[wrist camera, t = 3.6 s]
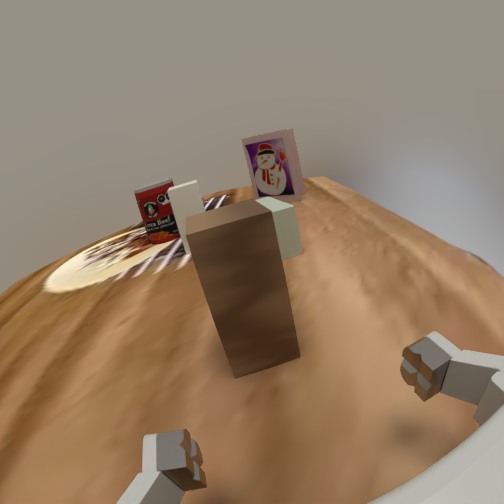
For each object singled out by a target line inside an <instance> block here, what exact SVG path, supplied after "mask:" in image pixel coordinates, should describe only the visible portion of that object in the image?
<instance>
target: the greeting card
mask: <svg viewBox="0 0 504 504" xmlns="http://www.w3.org/2000/svg"><path fill="white" fill-rule="evenodd" d="M242 143H243V148H244V152H245V156H246V160H247V164H248V168H249V173H250V177H251V181H252V186H253V190H254V195H255V199H256V200H257V199H261V198H264V197H271V198H274V199H277V200H280V201H282V202H292V201H301V198H300V195H301V194H306V192H305V187H304V182H303V177H302V172H301V167H300V162H299V158H298V152H297V147H296V143H295V138H294V133H293V129H289V130H281V131H275V132H271V133H266V134H262V135H258V136H253V137H249V138H245V139H242Z"/></svg>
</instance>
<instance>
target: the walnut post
mask: <svg viewBox="0 0 504 504" xmlns="http://www.w3.org/2000/svg"><path fill="white" fill-rule="evenodd" d="M186 238H187V242H188V245H189V248H190V251H191V254H192V257H193V261H194V264H195V267H196V270H197V273H198V276H199V279H200V282H201V285H202V288H203V291H204V294H205V297H206V300H207V303H208V305H209V308H210V311H211V314H212V317H213V320H214V322H215V325H216V328H217V331H218V333H219V336H220V339H221V342H222V344H223V347H224V350H225V352H226V355H227V357H228V360H229V363H230V365H231V368H232V370H233V373H234V376H235V378H238V377H242V376H245V375H248V374H251V373H255V372H258V371H261V370H264V369H267V368H270V367H273V366H276V365H279V364H282V363H285V362H288V361H291V360H294V359H296V358H299V357H300V353H299V347H298V342H297V336H296V331H295V325H294V320H293V315H292V309H291V304H290V299H289V294H288V288H287V283H286V278H285V273H284V268H283V263H282V258H281V253H280V248H279V243H278V239H277V234H276V229H275V224H274V219H273V215H272V211H271V210H270V209H268V208H266V207H265V206H263V205H262V204H260V203H259V202H257V201H255V200H254V199H249V200H246V201H242V202H238V203H235V204H231V205H227V206H224V207H220V208H216V209H213V210H209V211H206V212H202V213H199V214H196V215H192V216H189V217H186Z"/></svg>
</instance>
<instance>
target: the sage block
mask: <svg viewBox="0 0 504 504" xmlns="http://www.w3.org/2000/svg"><path fill="white" fill-rule="evenodd" d="M255 201H257V202H259V203H260V204H262V205H263V206H265V207H266V208H268V209H270V210H271V211H272V215H273V219H274V224H275V229H276V234H277V239H278V243H279V248H280V253H281V258H282V260H285V259H288V258H291V257H294V256H297V255H300V254H303V251H302V245H301V239H300V233H299V228H298V222H297V217H296V212H295V206H293V205H290V204H288V203H285V202H282V201H280V200H277V199H274V198H271V197H264V198H261V199H257V200H255Z"/></svg>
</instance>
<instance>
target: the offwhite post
mask: <svg viewBox="0 0 504 504" xmlns="http://www.w3.org/2000/svg"><path fill="white" fill-rule="evenodd" d="M167 192H168V196H169V199H170V202H171V206H172V209H173V213H174V216H175V219H176V223H177V226H178V229H179V233H180V236H181V239H182V242H183V245H184V248H185V252H186V254H189V253H191V251H190V248H189V245H188V242H187V238H186V217H189V216H192V215H196V214H199V213H202V212H205V209H204V206H203V202H202V198H201V195H200V191H199V187H198V183H197V181H196V180H195V181H191V182H188V183H185V184H181V185H178V186H174V187H171V188H169V189H168V191H167Z"/></svg>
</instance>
